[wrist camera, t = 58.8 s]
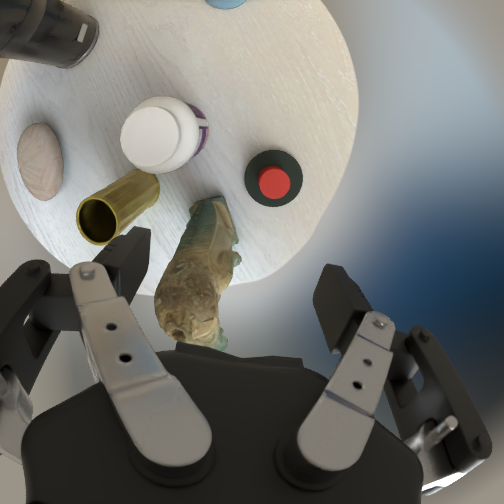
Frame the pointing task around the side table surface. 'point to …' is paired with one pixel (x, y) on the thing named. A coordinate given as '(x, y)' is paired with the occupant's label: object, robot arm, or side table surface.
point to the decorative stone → (40, 161)
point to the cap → (273, 182)
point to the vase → (116, 206)
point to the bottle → (225, 3)
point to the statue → (199, 277)
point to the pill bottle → (163, 134)
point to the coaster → (279, 160)
